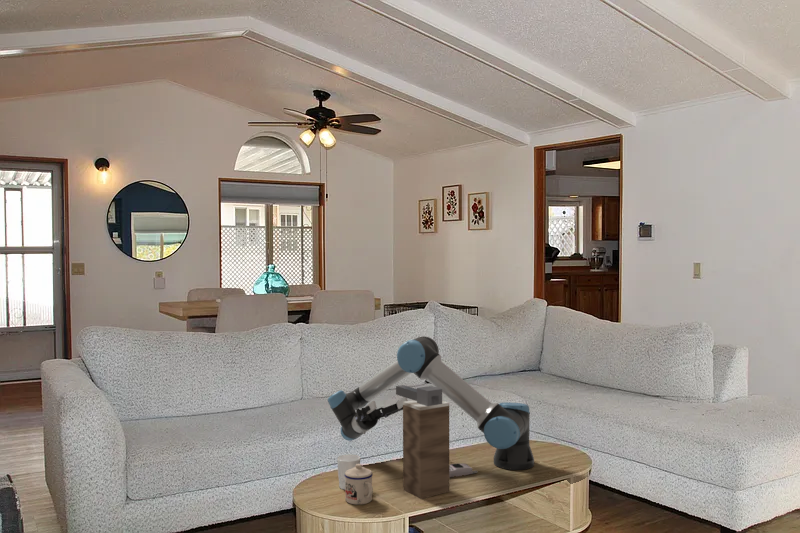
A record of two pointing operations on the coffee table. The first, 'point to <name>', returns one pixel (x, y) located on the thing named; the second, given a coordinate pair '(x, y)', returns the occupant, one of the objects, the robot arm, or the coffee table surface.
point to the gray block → (421, 394)
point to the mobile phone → (460, 470)
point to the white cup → (346, 467)
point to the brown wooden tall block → (425, 449)
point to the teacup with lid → (358, 485)
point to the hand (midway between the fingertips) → (391, 402)
